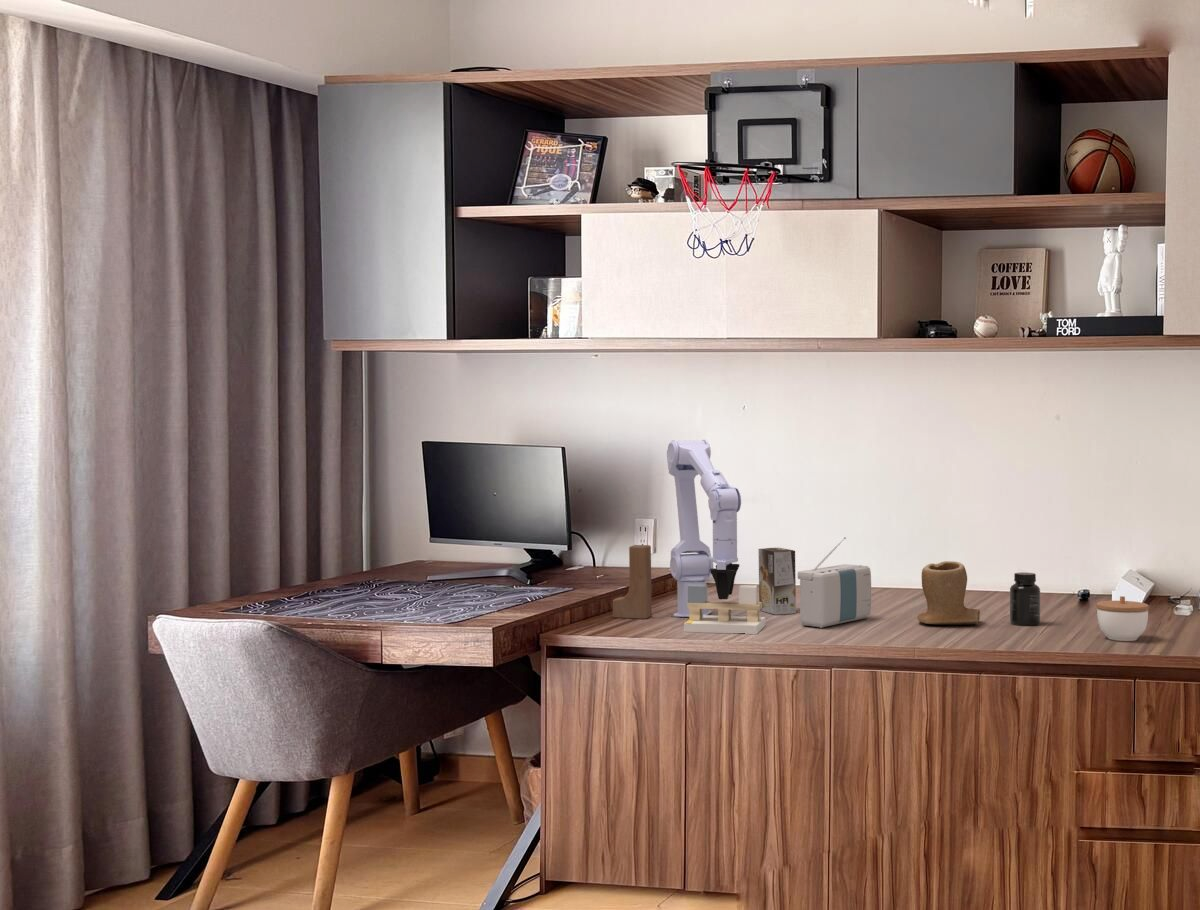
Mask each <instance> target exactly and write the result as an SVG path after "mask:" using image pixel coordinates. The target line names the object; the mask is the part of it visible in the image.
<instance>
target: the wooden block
mask: <svg viewBox="0 0 1200 910" xmlns="http://www.w3.org/2000/svg"><path fill="white" fill-rule="evenodd" d="M628 552H629V553H628V555H629V559H628V560H629V561H628V562H629V564H628V566H629V568H628V569H629V572H628V573H629V587H628V590H627V593H626V594H625V595H624V596H619V597H617V598H614V599H613V600H612V617H613V618H614V619H634V620H636V619H638V620H647V619H649V618H651V617H652V546H651V545H650V544H645V545H644V544H634V545H633V544H632V545H630V546H629V548H628Z"/></svg>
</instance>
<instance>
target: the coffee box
mask: <svg viewBox="0 0 1200 910" xmlns="http://www.w3.org/2000/svg"><path fill="white" fill-rule="evenodd" d="M796 583H797V582H796V550H793V549H790V548H789V549H788V548H784V547H767V548H758V596H759V597H758V599H759V600H758V602H762V607H761V609H760V611H761V612H765V613H768V614H772V615H774V616H775V615H776V616H777V615H790V614H794V615H795V614H796V613H797V609H796V608H797V603H796V601H797V598H796V595H797V594H796V593H797V592H796V591H797V588H796Z"/></svg>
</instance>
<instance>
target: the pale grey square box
mask: <svg viewBox="0 0 1200 910" xmlns="http://www.w3.org/2000/svg"><path fill="white" fill-rule="evenodd" d="M707 588H708V584H707V583H706V584H690V585H688V603H706V601H707Z"/></svg>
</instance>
